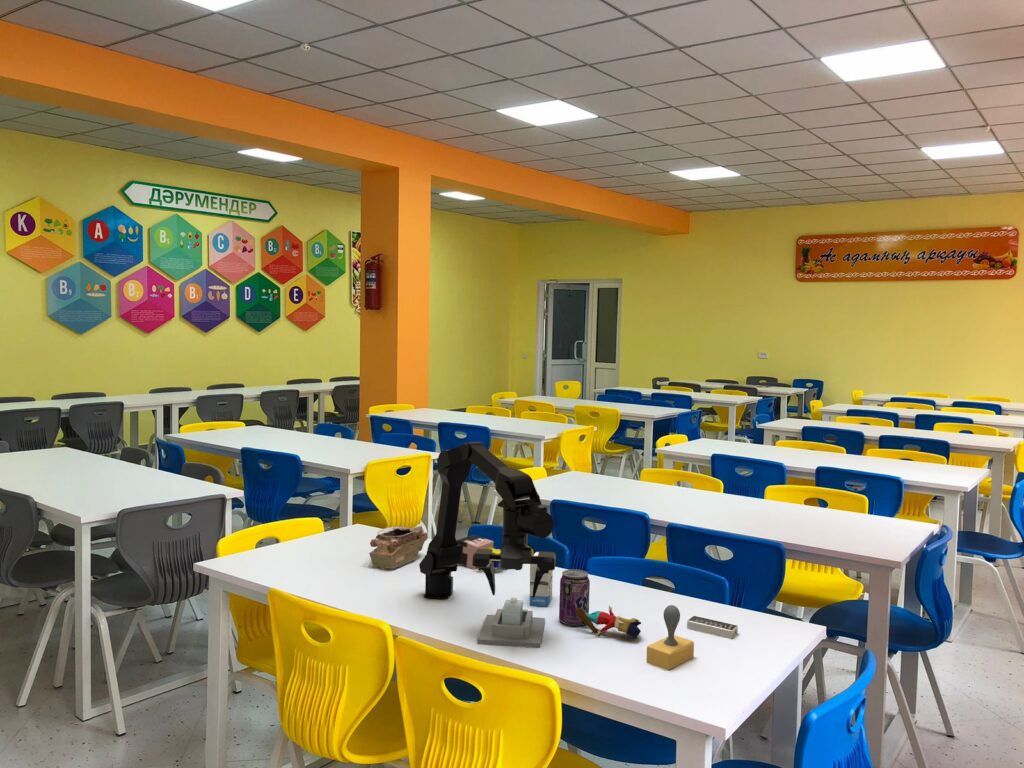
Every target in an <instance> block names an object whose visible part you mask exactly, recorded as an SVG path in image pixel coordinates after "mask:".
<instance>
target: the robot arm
mask: <svg viewBox="0 0 1024 768" xmlns="http://www.w3.org/2000/svg"><path fill="white" fill-rule="evenodd" d="M473 465H474V466H475V467H476V468H477V469H478V470H479V471H481V472H482V473H483V474H484V475H485V476H486V477H488V478H489V479H490V480H491V481H492V482H493V483H494V488H495V489H494V490H495V491H496V492H497V494H498V495H499V496H500V498H501V499H502V500H500V501H499V502H498V503H497V507H500V508H502V542H501V543H502V544H501V547H500V550H501V554H493V551H492V549H477V550H476V551H475V553H474V555H473V565H472V566H475V567H478V569H477V570H479V571H482V572H483V574H484V575H485V577H486V579H487V581H488V585H489V589H490V590H491V594H492V596H495V595H496V578H495V577H496V576H495V575H496V573H495V567H494V562H500V563H501V567H500V569H501V570H503V571H504V570H515V571H521V570H522V569H523V565H530V564H537V569H536V574H535V581H534V587H533V598H534V597H535V594H536V591H537V588H538V585H539V583H540V580H541V578H542V576H543V575H544V574H545V573H549V570H553V571H555V569H556V565H557V564H556V561H557V554H556V553H555V552H554V551H553V552H552V551H538V552H539V554H538V556H533V553H532V552H533V551H532V550H533V549H532V547H529V546H528V535H529V536H533V537H536V538H539V539H545V538H548V537H549V536H550V535H551V534H552V532H553V530H554V527H555V526H554V525H555V522H554V521H555V520H554V519H553V516H552V515H551V514H550V513H549V512H548V507H547V506H544V505H542V501H541V499H540V498H541V497H540V495H539V492H538V491H537V488H536V486H535V483H534V481H533V479H532V477H531V476H530V475H529V474H528V473H526V472H524V471H522V470H520V469H517V468H512V467H509V466H508V465H507V464H506V463H504V461H502V460H501V459H500V458H498V456H496V455H495V454H494V453H493V452H491V451H490V450H489V449H487V447H485V444H484V443H483V442H481V441H470V442H464V443H463V444H461V445H459V446H457V447H453V448H451V449H444V450H442V451H441V452H440V453H439V454H438V457H437V473H438V475H439V476H440V479H441V482H442V484H441V492H440V500H439V502H440V503H439V506H438V507H439V508H438V516H437V518H438V519H437V524H436V532H435V533H436V534H435V535H434V536H433V538H431V540H430V541H429V543H428V546H427V551H426V554H425V556H424V557H423V558H422V559H421V561H420V563H418V567H419V572H420V573H421V574H424V575H425V578H424V579H425V583H424V584H425V585H424V588H425V589H424V590H425V593H424V595H423V598H425V599H437V600H438V599H439V600H448V599H449V598H450V596H451V595H452V594H453V593H454V577H453V576H452V572H457V571H458V566H459V564H458V563H459V560H461V550H462V547H461V545H459V544H458V542H457V540H458V539H457V538H456V534H457V533H456V532H457V525H458V518H459V511H460V504H461V503H460V502H461V495H462V489H463V484H464V483H465V481H466V480H468V479H467V478H468V477H469V476H470V473H471V470H472V466H473Z"/></svg>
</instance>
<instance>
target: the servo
mask: <svg viewBox="0 0 1024 768" xmlns="http://www.w3.org/2000/svg"><path fill="white" fill-rule="evenodd" d="M523 606H524V600H519V599H518V597H510V598H509V599H505V601H504V604H503V607H502V608H501V609H502V624H503V625H520V626H522V614H523V608H524V607H523Z"/></svg>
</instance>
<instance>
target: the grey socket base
mask: <svg viewBox="0 0 1024 768" xmlns="http://www.w3.org/2000/svg"><path fill="white" fill-rule="evenodd" d="M502 609H503V608H497V609H496V612H495V614H486V616H485V619H484V622H483V624H482V626H481V629H480V632H479V634H478V637H477V639H476V642H477V643H476V644H477V645H492V646H504V647H505V646H506V647H521V648H522V647H523V648H524V647H525V648H538V649H539V648H541V645H542V640H543V635H544V629H545V625H546V624H545V623H546V618H545V617H535V616H534V613H533V612H534V611H533V610H528V609H523V614H522V626H520V625H503V624H502Z"/></svg>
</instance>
